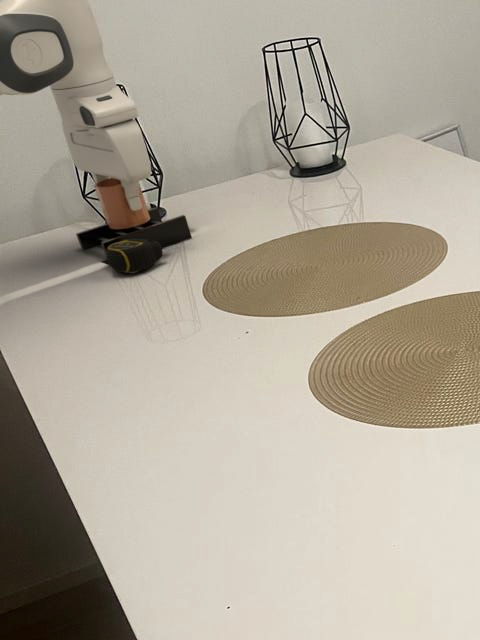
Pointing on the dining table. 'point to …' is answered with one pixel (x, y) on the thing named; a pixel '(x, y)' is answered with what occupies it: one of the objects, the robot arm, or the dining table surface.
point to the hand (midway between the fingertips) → (124, 206)
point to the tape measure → (133, 254)
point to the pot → (119, 205)
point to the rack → (137, 233)
